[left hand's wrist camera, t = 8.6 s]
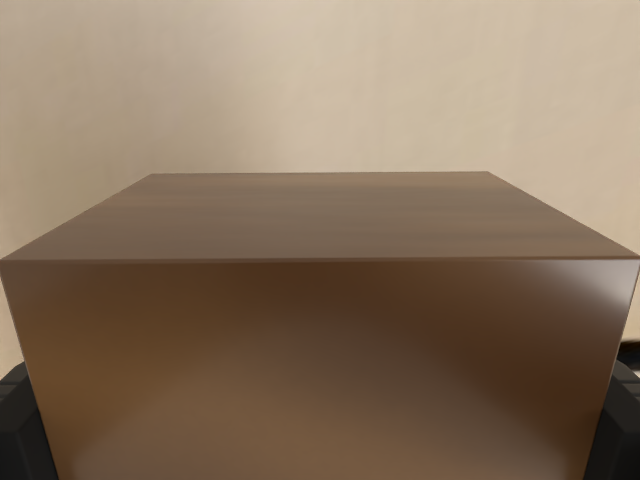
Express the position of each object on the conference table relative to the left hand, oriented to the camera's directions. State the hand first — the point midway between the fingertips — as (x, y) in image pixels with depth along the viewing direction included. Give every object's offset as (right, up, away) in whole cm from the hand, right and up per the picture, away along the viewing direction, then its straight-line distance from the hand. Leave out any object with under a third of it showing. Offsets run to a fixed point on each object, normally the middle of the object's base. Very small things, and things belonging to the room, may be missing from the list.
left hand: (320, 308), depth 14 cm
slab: (0, -33, +13) cm, 35 cm away
